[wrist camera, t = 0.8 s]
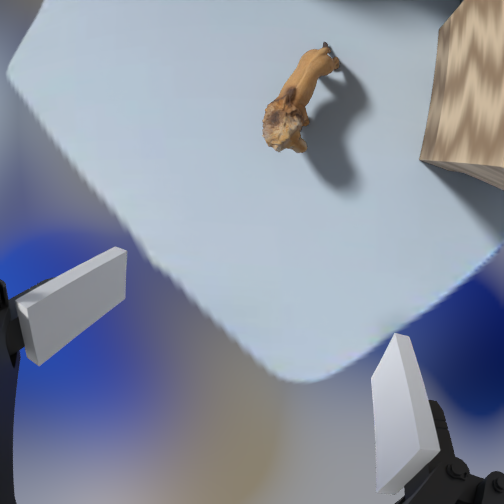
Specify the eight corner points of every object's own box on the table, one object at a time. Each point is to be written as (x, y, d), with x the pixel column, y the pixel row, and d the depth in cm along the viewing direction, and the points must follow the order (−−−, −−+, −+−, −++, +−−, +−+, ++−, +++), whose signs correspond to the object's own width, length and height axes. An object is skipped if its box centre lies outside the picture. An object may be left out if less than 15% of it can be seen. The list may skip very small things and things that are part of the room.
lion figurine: (307, 160, 36) (300, 161, 27) (264, 145, 36) (245, 142, 28) (345, 50, 31) (349, 21, 22) (303, 37, 31) (294, 6, 23)
